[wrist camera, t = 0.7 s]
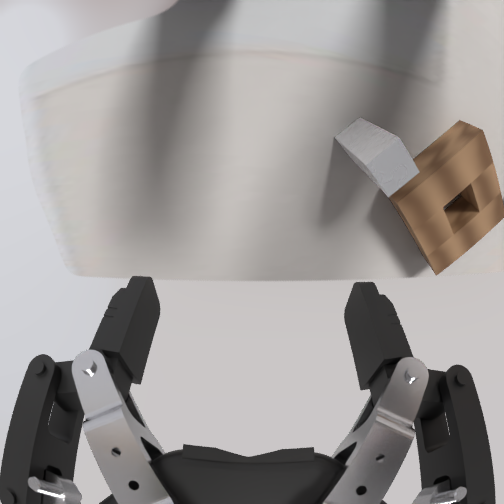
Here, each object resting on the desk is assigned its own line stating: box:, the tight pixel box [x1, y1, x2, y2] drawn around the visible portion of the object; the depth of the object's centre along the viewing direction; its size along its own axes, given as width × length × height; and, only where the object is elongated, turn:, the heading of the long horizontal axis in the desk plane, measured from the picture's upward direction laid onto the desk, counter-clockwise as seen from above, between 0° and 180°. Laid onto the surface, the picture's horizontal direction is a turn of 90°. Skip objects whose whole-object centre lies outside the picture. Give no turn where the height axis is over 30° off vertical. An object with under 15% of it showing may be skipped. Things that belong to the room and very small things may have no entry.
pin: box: [335, 117, 419, 197], centre depth 25 cm, size 4×4×10 cm
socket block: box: [388, 120, 504, 275], centre depth 30 cm, size 16×16×5 cm
